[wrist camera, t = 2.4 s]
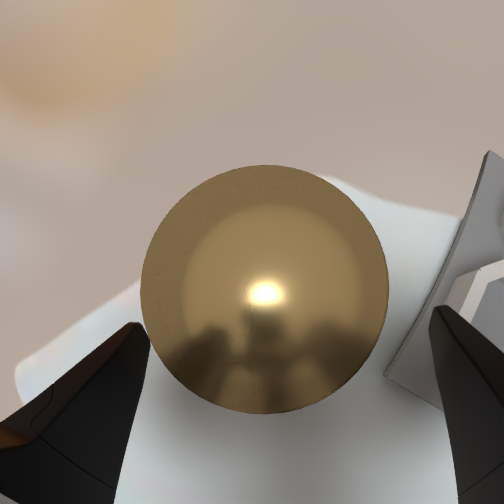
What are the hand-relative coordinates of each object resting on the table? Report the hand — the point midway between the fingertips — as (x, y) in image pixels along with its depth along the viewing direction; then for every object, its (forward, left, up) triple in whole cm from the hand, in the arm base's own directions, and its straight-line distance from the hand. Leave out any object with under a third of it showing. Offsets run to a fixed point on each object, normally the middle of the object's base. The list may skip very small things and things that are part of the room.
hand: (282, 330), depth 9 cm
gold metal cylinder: (+1, 0, -9) cm, 9 cm away
